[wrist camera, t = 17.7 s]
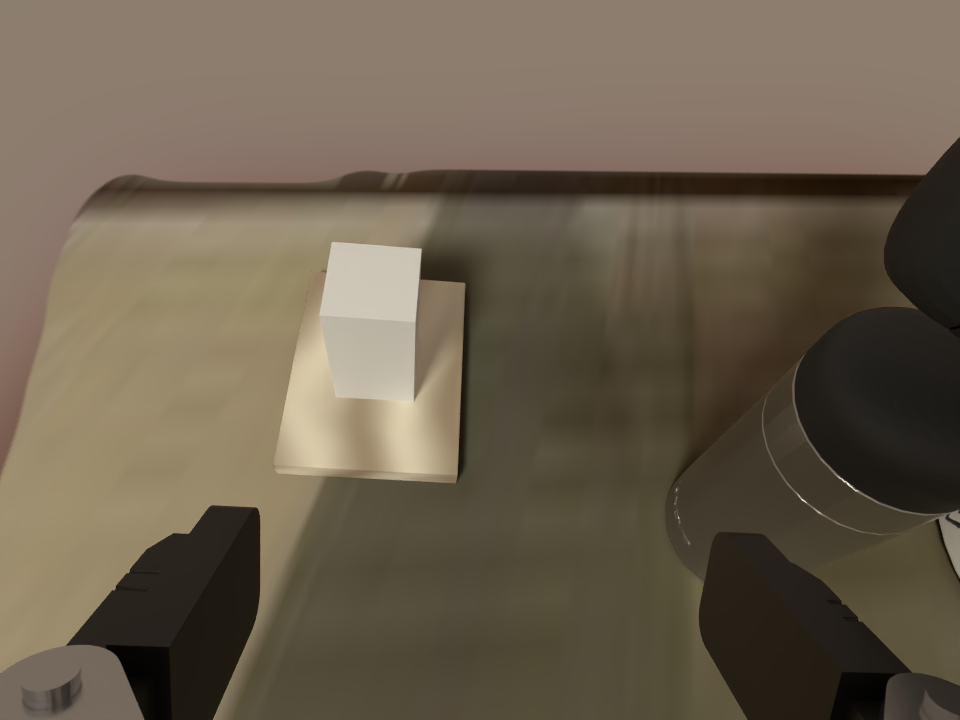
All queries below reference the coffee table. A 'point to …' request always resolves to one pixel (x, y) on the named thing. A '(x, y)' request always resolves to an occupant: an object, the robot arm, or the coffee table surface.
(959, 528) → the planter
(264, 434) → the coffee table surface
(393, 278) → the block
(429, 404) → the stub plate
